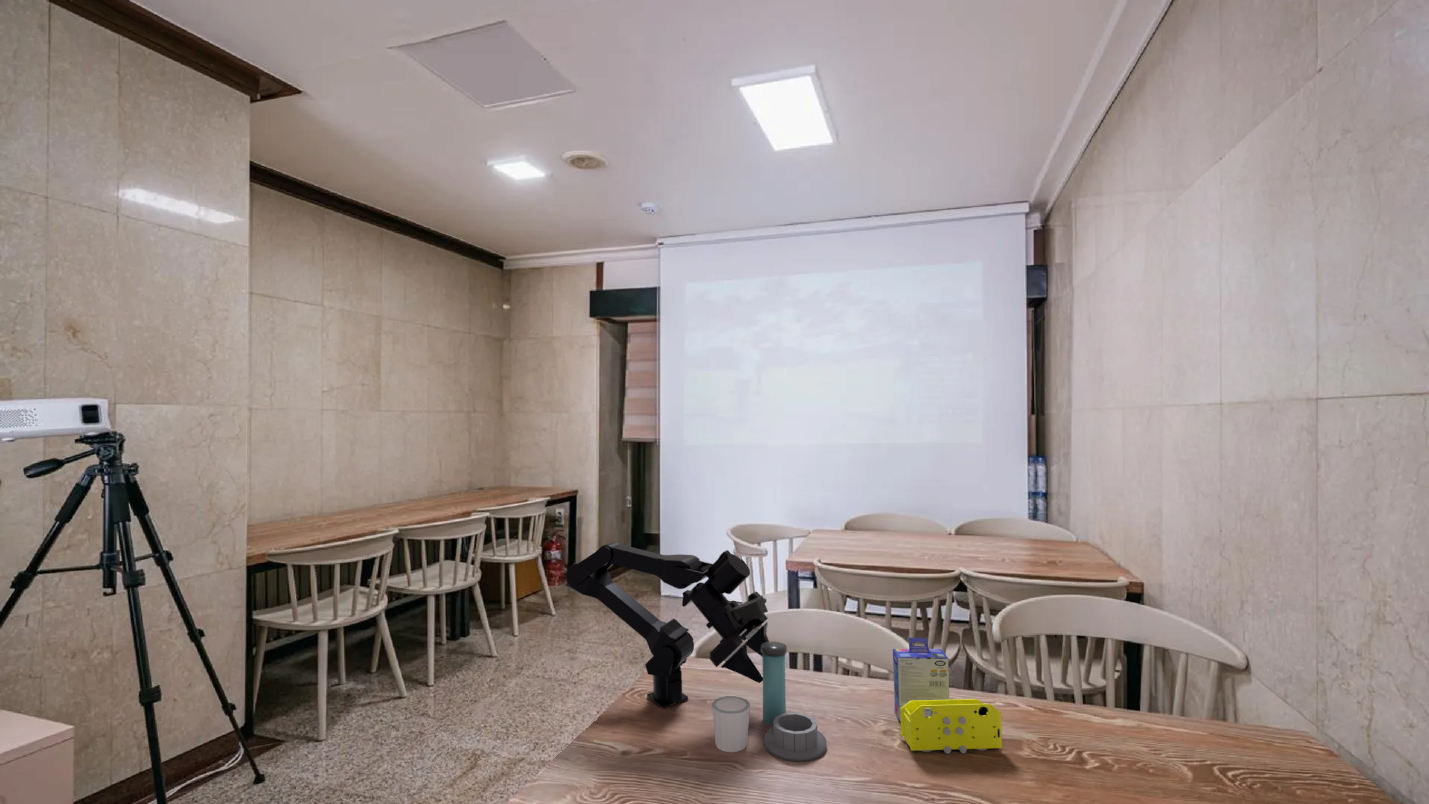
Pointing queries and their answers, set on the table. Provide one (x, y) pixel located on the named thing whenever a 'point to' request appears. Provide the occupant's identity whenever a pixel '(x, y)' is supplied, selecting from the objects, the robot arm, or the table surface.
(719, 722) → the shot glass
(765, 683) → the teal capped cylinder
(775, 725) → the ring mount
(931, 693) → the ink cartridge box
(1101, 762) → the table surface
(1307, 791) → the table surface
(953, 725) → the yellow toy chassis
